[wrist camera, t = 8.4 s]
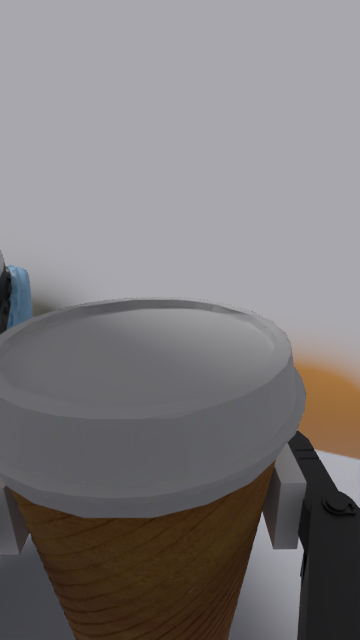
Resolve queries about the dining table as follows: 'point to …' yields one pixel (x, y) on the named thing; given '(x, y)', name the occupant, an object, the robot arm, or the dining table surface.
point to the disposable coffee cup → (145, 456)
